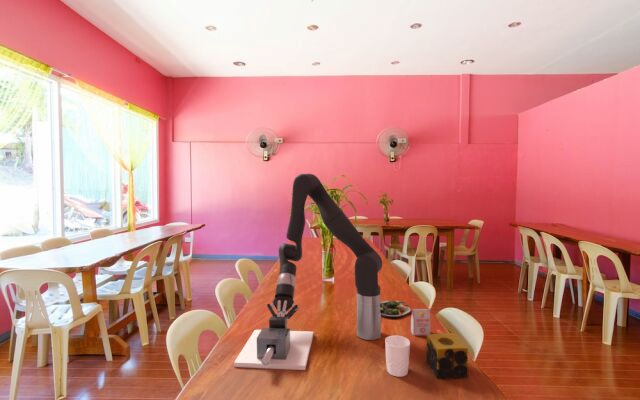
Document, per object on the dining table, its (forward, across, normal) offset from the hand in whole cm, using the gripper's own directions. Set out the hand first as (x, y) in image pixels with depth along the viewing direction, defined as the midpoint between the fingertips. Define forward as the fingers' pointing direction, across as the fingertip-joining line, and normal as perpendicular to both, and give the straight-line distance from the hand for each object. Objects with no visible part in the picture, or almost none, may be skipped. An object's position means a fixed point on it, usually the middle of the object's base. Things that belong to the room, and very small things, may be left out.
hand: (279, 329), depth 124 cm
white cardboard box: (-5, +55, +14) cm, 57 cm away
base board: (+7, 0, +1) cm, 7 cm away
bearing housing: (+9, 0, -3) cm, 10 cm away
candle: (+12, +58, -4) cm, 60 cm away
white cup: (+14, +42, -6) cm, 45 cm away
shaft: (+10, 0, -5) cm, 11 cm away
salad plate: (-20, +45, +30) cm, 57 cm away
